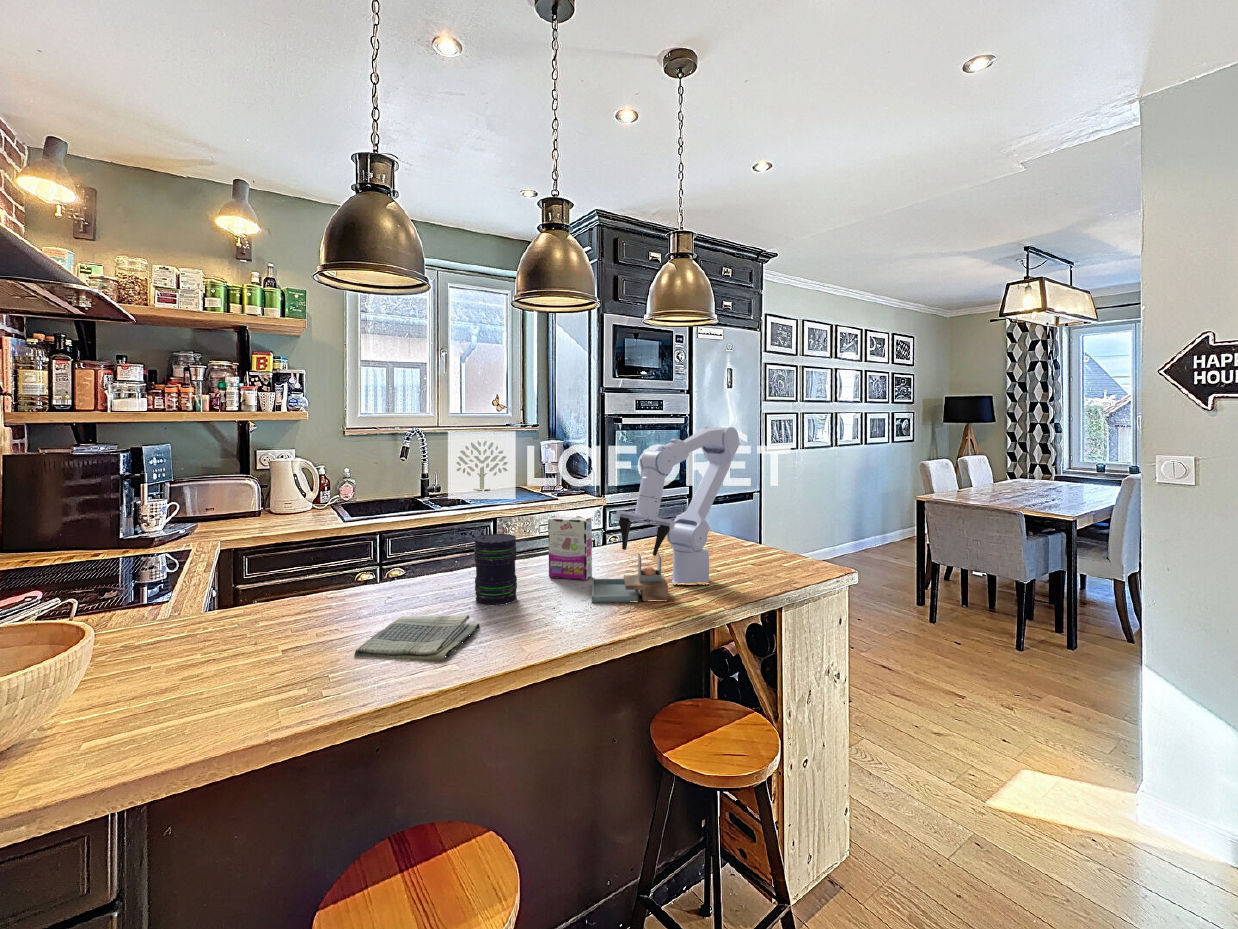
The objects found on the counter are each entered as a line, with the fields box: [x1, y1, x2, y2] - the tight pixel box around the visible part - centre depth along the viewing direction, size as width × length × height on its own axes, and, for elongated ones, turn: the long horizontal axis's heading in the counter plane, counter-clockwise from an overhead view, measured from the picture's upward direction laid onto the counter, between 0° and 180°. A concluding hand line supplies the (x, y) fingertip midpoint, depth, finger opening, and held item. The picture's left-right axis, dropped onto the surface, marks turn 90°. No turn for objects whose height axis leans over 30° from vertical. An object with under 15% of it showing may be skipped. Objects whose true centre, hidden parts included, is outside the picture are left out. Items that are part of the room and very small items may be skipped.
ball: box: [643, 566, 656, 575], centre depth 142 cm, size 3×3×3 cm
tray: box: [591, 578, 639, 604], centre depth 145 cm, size 11×15×2 cm
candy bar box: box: [547, 516, 593, 581], centre depth 159 cm, size 11×5×16 cm, turn 73°
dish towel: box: [354, 614, 481, 662], centre depth 114 cm, size 19×18×3 cm
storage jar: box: [473, 533, 518, 606], centre depth 139 cm, size 10×10×15 cm
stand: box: [623, 574, 669, 601], centre depth 142 cm, size 10×9×4 cm
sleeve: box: [637, 552, 662, 583], centre depth 142 cm, size 5×5×6 cm
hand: (639, 552), depth 142 cm, fingers open, 7 cm apart
